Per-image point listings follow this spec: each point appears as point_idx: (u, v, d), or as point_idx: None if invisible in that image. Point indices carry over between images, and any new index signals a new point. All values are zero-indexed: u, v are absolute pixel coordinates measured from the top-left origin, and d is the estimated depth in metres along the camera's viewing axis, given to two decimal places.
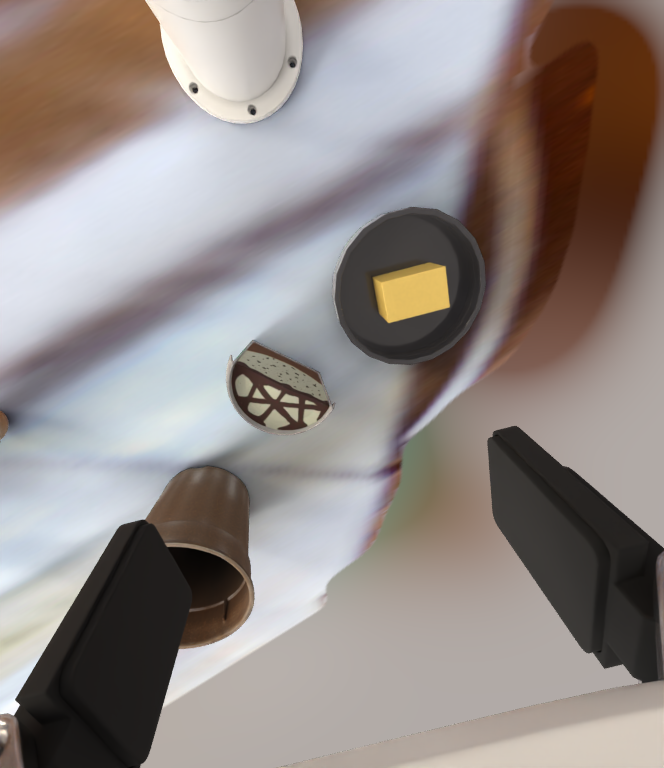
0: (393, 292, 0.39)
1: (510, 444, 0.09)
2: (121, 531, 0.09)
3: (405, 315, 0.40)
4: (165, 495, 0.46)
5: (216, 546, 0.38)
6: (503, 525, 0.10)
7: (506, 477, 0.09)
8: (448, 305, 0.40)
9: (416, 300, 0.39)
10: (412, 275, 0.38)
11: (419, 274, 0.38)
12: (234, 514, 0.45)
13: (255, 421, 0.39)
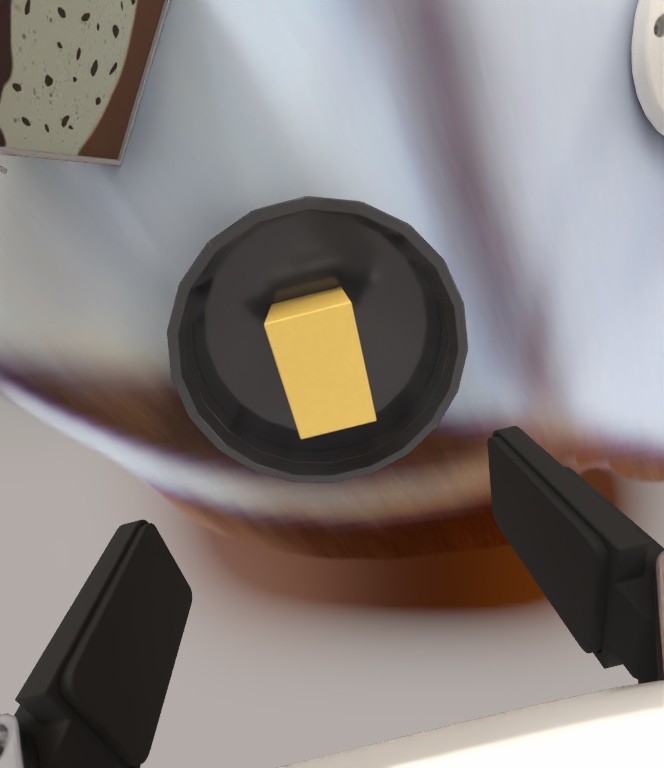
0: (330, 329, 0.18)
1: (510, 444, 0.09)
2: (121, 531, 0.09)
3: (282, 358, 0.19)
4: None
5: None
6: (502, 525, 0.10)
7: (506, 477, 0.09)
8: (304, 436, 0.21)
9: (313, 377, 0.19)
10: (362, 363, 0.19)
11: (364, 377, 0.20)
12: None
13: None
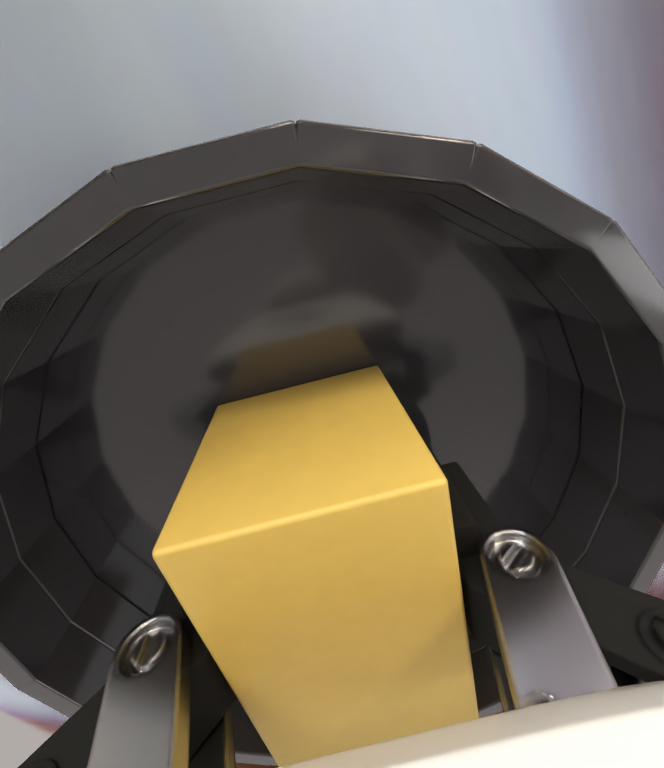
0: (373, 555, 0.06)
1: None
2: None
3: (221, 633, 0.06)
4: None
5: None
6: None
7: None
8: None
9: (317, 665, 0.07)
10: (462, 626, 0.07)
11: (463, 654, 0.07)
12: None
13: None
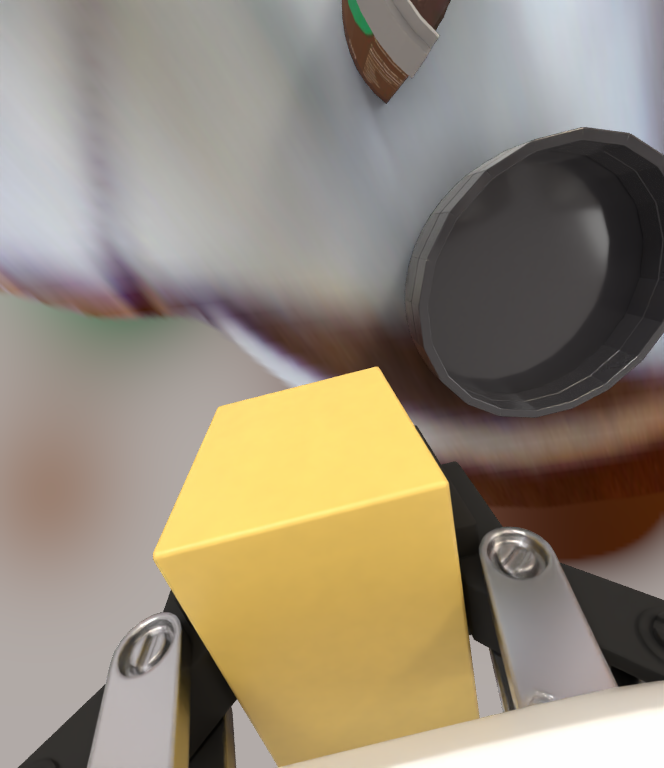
0: (374, 557, 0.06)
1: None
2: None
3: (222, 635, 0.06)
4: None
5: None
6: None
7: None
8: None
9: (318, 667, 0.07)
10: (463, 628, 0.07)
11: (464, 657, 0.07)
12: None
13: None
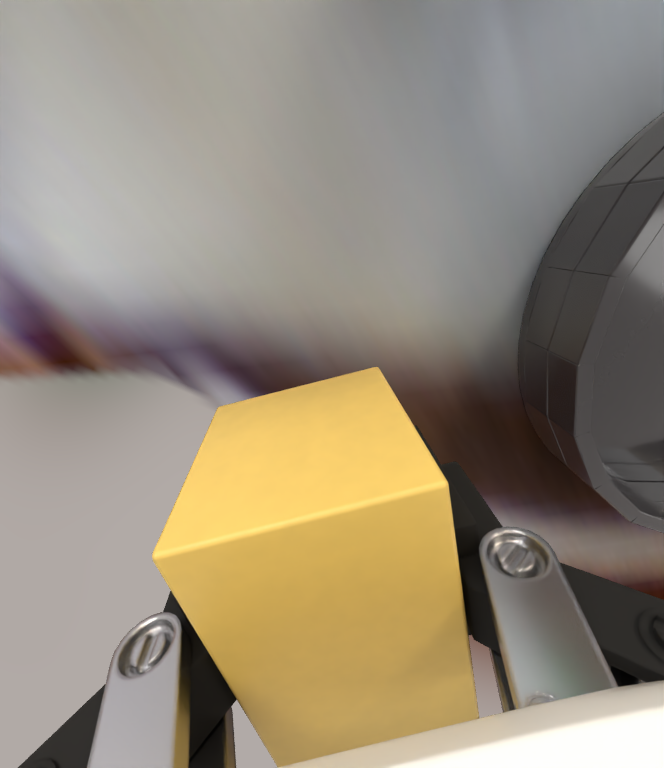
0: (374, 558, 0.06)
1: None
2: None
3: (221, 635, 0.06)
4: None
5: None
6: None
7: None
8: None
9: (318, 668, 0.07)
10: (463, 629, 0.07)
11: (464, 657, 0.07)
12: None
13: None
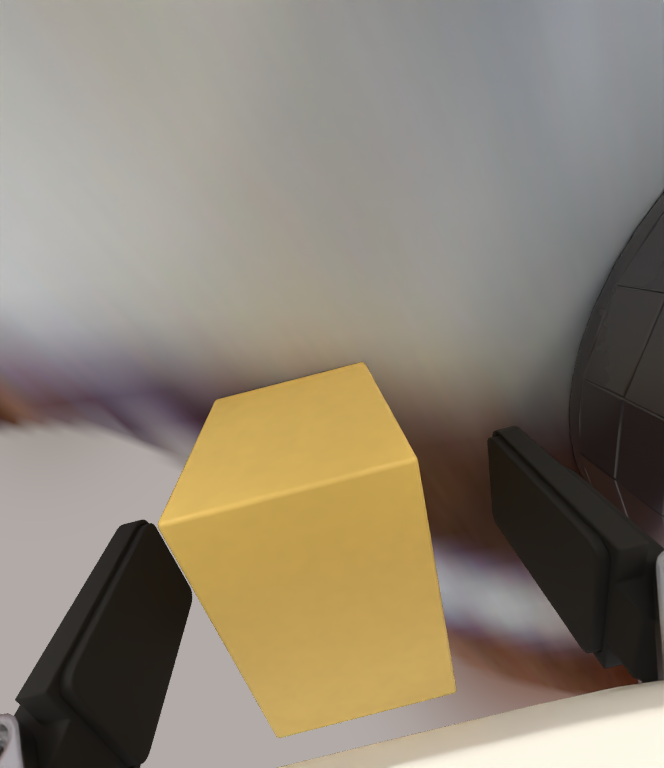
0: (354, 527, 0.06)
1: (510, 444, 0.09)
2: (121, 531, 0.09)
3: (219, 599, 0.07)
4: None
5: None
6: (502, 525, 0.10)
7: (506, 477, 0.09)
8: (285, 734, 0.09)
9: (306, 630, 0.07)
10: (436, 594, 0.07)
11: (438, 621, 0.08)
12: None
13: None
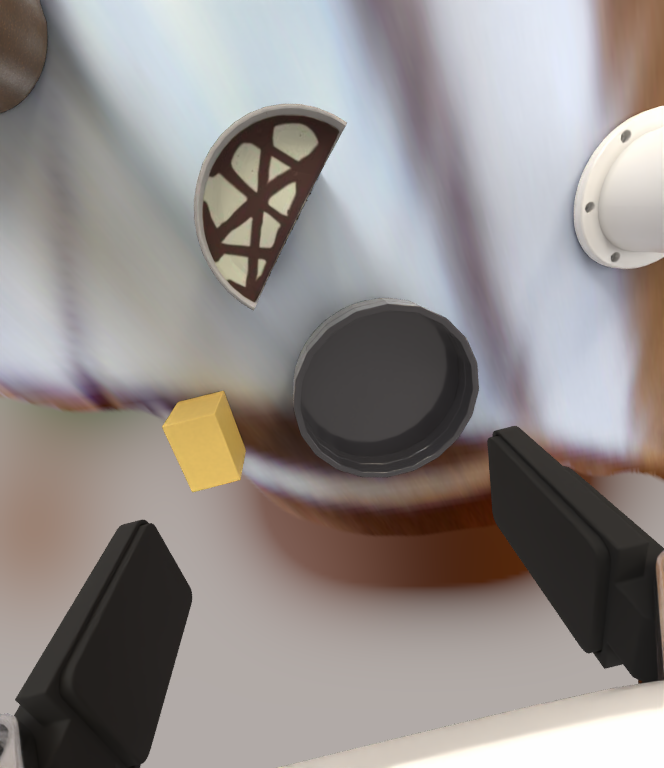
0: (203, 428, 0.31)
1: (510, 444, 0.09)
2: (121, 531, 0.09)
3: (175, 445, 0.31)
4: None
5: None
6: (502, 525, 0.10)
7: (506, 477, 0.09)
8: (194, 490, 0.33)
9: (196, 455, 0.32)
10: (226, 447, 0.32)
11: (229, 455, 0.32)
12: None
13: (219, 155, 0.20)
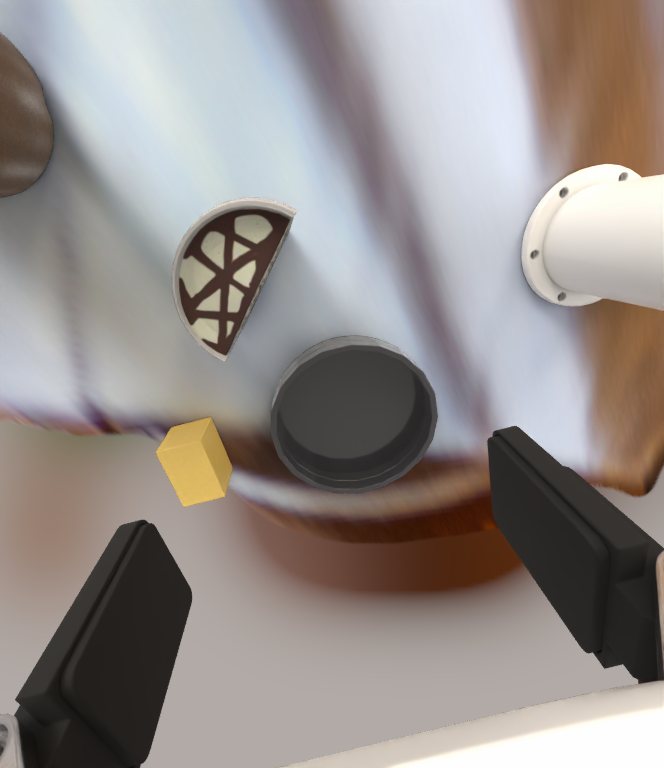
0: (191, 453, 0.35)
1: (510, 444, 0.09)
2: (121, 531, 0.09)
3: (167, 467, 0.36)
4: None
5: None
6: (502, 525, 0.10)
7: (506, 477, 0.09)
8: (185, 505, 0.38)
9: (185, 476, 0.36)
10: (212, 469, 0.36)
11: (214, 475, 0.37)
12: None
13: (190, 242, 0.24)
